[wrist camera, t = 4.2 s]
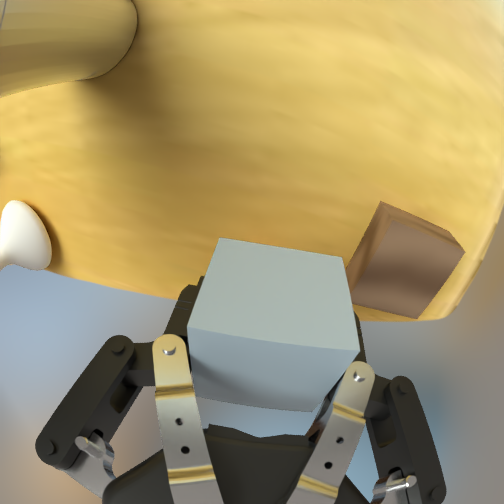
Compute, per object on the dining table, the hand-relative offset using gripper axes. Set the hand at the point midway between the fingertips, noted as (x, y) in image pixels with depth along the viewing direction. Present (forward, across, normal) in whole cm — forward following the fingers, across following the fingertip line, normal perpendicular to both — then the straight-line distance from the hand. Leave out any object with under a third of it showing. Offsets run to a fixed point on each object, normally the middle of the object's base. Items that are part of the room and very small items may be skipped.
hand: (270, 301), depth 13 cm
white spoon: (+13, +33, +9) cm, 37 cm away
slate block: (+1, 0, 0) cm, 1 cm away
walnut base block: (+13, -13, +4) cm, 18 cm away
